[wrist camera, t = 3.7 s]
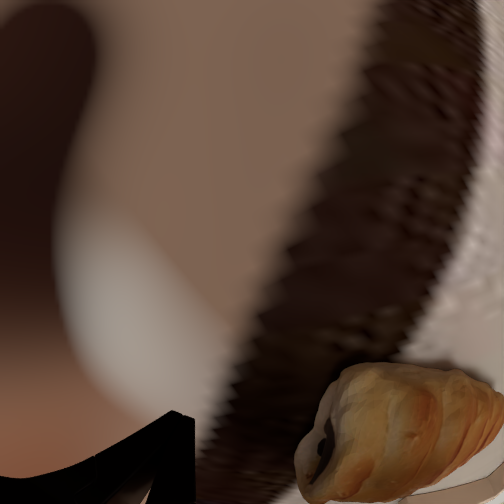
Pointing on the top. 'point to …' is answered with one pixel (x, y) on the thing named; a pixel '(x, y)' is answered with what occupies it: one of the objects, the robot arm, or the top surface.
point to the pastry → (394, 432)
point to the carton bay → (464, 492)
